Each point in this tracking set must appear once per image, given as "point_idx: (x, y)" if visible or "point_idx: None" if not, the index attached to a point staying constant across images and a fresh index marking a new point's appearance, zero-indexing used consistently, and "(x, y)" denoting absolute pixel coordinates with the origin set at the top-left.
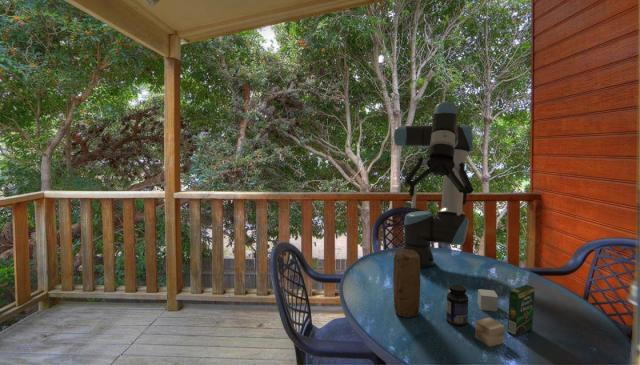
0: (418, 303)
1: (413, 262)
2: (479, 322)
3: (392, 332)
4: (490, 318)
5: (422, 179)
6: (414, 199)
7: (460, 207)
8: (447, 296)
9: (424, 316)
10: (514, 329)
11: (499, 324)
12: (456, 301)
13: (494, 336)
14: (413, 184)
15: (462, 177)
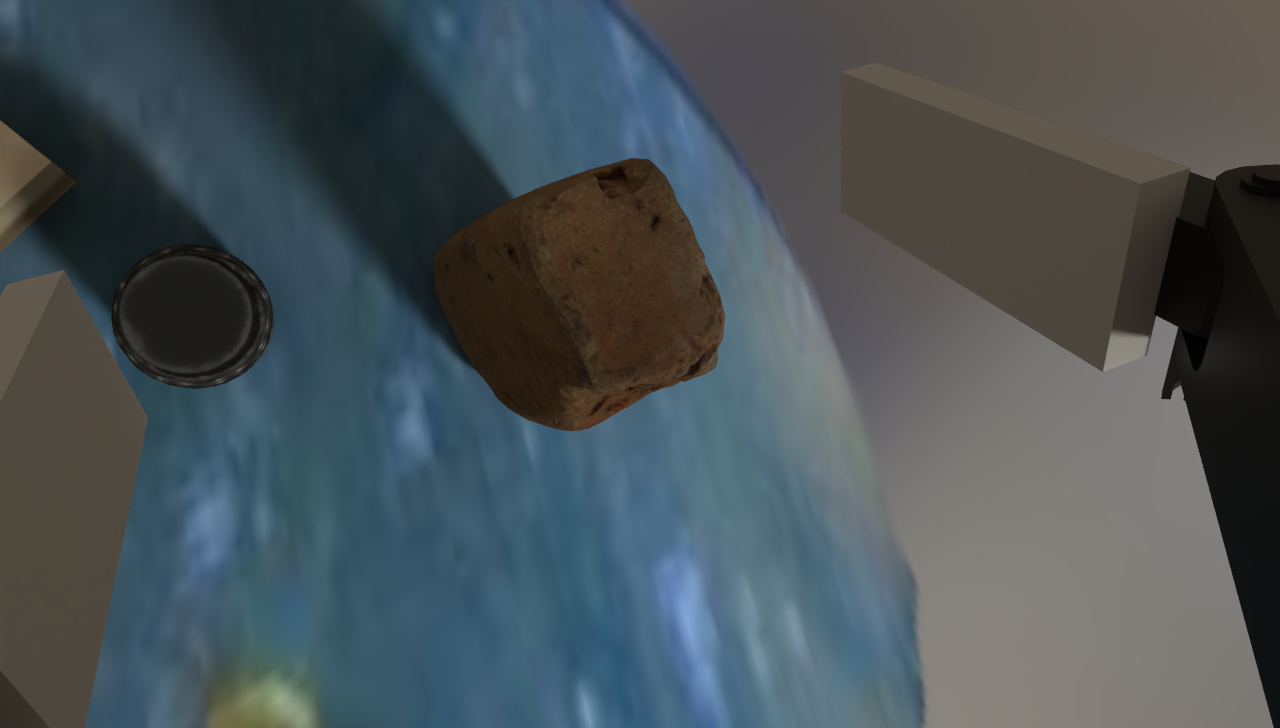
0: (441, 247)
1: (549, 184)
2: (24, 145)
3: (512, 62)
4: None
5: (1237, 544)
6: (927, 90)
7: (17, 329)
8: (264, 288)
9: (398, 298)
10: None
11: None
12: (192, 245)
13: None
14: (1238, 180)
15: None
